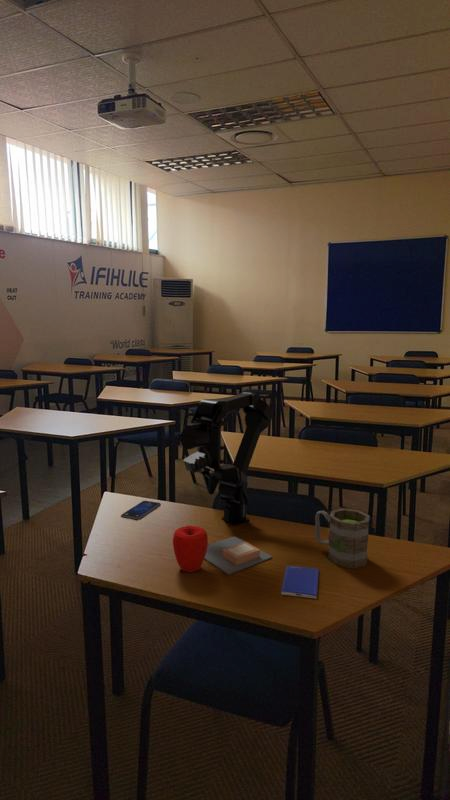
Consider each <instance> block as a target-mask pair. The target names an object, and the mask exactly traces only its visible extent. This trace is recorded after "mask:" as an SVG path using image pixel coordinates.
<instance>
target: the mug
mask: <svg viewBox="0 0 450 800" xmlns="http://www.w3.org/2000/svg"><path fill="white" fill-rule="evenodd" d="M321 515H322V516H323V517H324V518H325V520H326V521H327V522H328V523H329V533H328V540H323V539H322V537H321V533H320V532H321V531H320V528H321V522H320V521H321V520H320V516H321ZM370 516H371V515H369V514H367V513H365V512H363V511H361V510H359V509H350V508H341V509H340V508H339V509H335V510H331V512H330V514H329V513H328V512H326V511H325V510H319V511H317V512H316V514H315V516H314V523H315V527H314V529H315V531H314V532H315V534H314V535H315V539H316V541H317V542H318V543H319V544H321V545H328V554H327V559H328V561H330V562H331V563H333V564H334V565H336V566H337V567H343V568H349V569H357V568H361V567H364V566H367V563H368V543H369V525H370V524H369V522H370V518H371V517H370Z"/></svg>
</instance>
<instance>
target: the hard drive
mask: <svg viewBox="0 0 450 800" xmlns="http://www.w3.org/2000/svg"><path fill="white" fill-rule="evenodd" d="M319 572H320V570H319V569H318V568H313V567H303V566H296V565H286V568H285V573H284V577H283V582H282V587H281V591H280V593H281V595H286V596H292V597H301V598H308V599H315V600H316V599H318V598H317V597H318V588H319V578H320V577H319V576H320V575H319V574H320V573H319Z"/></svg>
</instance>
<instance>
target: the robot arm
mask: <svg viewBox="0 0 450 800" xmlns="http://www.w3.org/2000/svg"><path fill="white" fill-rule="evenodd" d="M237 410H242V412H243V413H244V414H245V416H244V423H245V429H244V433H243V435H242V439H241V440H240V444H239V447H238V449H237V452H236V455H235V457H234V460H233V463H232V464H231V463H230V464H229V463H228V464H224V463H225V459H222V451H223V450H225V446H224V445H222V427H224V426H226V425H227V424H226V422H225V421H224V419H225V418H227V416H228V414H229V413H232V412H234V411H237ZM273 416H274V412H273V410H272V408H271V407H270V405H269V404H268V403H267V402H265V401H264V400H262V399H261V398H260V397H259V395H258V394H256V393H255V392H248V391H243V392H240V393H238V394H234V395H232V396H228V397H224V398H220V399H219V398H218V399H217V398H203V399H201V400H200V401H199V403H198V405H197V407H196V410H195V412H194V414H193V416H192V418H191V421H190V423H188V424H186V425H185V429H183V430H182V431H181V432H180V435H179V439H180V443H181V445H182V446H183V448H184V449H187V450H192V449H196V448H197V451H196V452H194V453H192V454H190V455H188V456H187V457H185V458H184V459H182V460H183V462H184V466H185V469H186V471H190V472H191V473H193V474H195V473H198V474H200V475H201V476H202V478H203V480H204V484H205V486H206V490H207V493H208V494H209V495H213V494H214V493H215V491H216V489H218V494H219V497H220V500H221V501H224V502H225V503H224V506H223V516H221V520H224V521H225V522H228V523H229V524H232V525H235V526H236V525H239V524H242V523H245V522H248V521H250V518H249V517H247V506H248V505H249V504H251V501H252V499H253V498H252V494H251V493H250V491H249V490H248V485H249V484H248V483H249V482H248V479H247V478H248V477H247V473H248V469H249V467H250V464H251V462H252V459H253V455H254V453H255V449H256V446H257V444H258V441H259V439H260V436H261V434H262V433H263V432H264V430H266V429H267V428H268V427H269V425H270V423H271V421H272V419H273ZM217 487H218V488H217Z"/></svg>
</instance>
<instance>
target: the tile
mask: <svg viewBox="0 0 450 800" xmlns="http://www.w3.org/2000/svg"><path fill="white" fill-rule="evenodd" d="M260 550H261V549H259V548H258V547H256V546H254V545H252V544H250V543H249V542H247V541H245V542H243V543H241V544H238V545H235V546H232V547H229V548H226V549H223V557H224V558H225V559H227V560H229V561H230V562H232V563H234V564H235V565H239V564H242V563H244V562H247V561H250V560H252V559H255V558H258V557H260Z"/></svg>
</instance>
